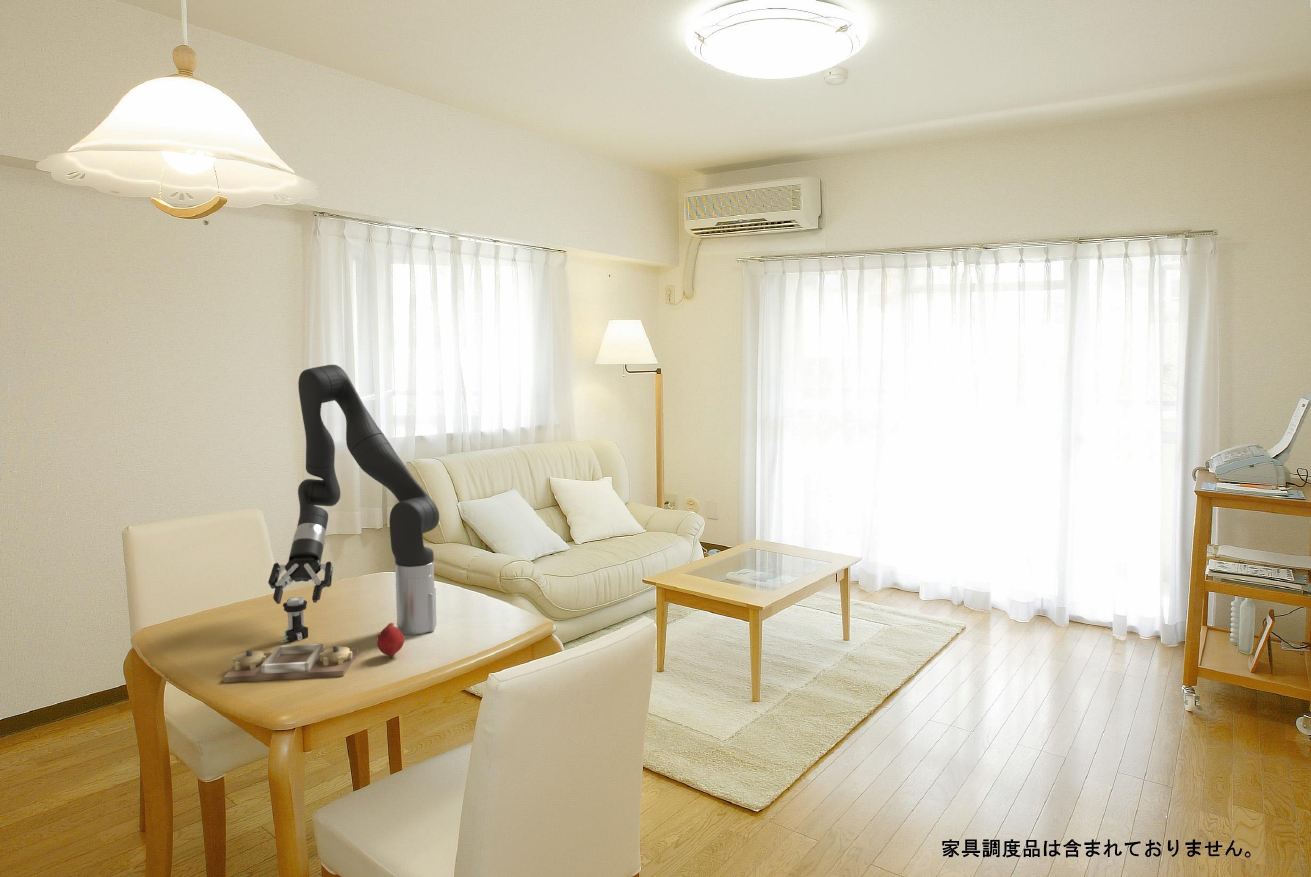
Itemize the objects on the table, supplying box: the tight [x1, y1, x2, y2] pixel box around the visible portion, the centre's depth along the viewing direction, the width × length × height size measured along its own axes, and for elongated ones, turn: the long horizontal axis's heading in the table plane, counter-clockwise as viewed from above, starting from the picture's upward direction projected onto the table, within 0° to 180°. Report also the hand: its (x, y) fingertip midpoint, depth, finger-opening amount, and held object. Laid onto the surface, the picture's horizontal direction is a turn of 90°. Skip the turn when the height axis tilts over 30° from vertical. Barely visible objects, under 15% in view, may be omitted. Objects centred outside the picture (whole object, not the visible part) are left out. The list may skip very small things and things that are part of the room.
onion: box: [376, 621, 405, 658], centre depth 175 cm, size 6×6×8 cm
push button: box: [280, 596, 309, 644], centre depth 185 cm, size 7×5×10 cm
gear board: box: [222, 643, 358, 684], centre depth 169 cm, size 25×13×4 cm, turn 99°
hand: (296, 601), depth 188 cm, fingers open, 8 cm apart
